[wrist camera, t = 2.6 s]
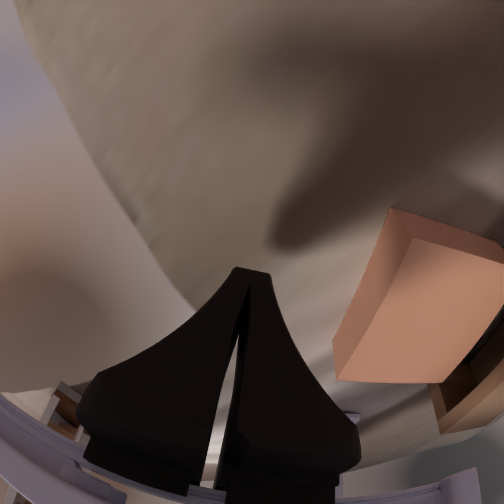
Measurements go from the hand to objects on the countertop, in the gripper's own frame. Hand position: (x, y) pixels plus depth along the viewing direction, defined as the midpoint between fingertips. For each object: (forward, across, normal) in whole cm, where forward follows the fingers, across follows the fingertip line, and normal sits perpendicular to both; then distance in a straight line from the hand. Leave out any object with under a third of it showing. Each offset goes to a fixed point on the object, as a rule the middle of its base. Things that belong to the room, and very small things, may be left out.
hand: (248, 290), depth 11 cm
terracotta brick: (+2, -8, 0) cm, 9 cm away
